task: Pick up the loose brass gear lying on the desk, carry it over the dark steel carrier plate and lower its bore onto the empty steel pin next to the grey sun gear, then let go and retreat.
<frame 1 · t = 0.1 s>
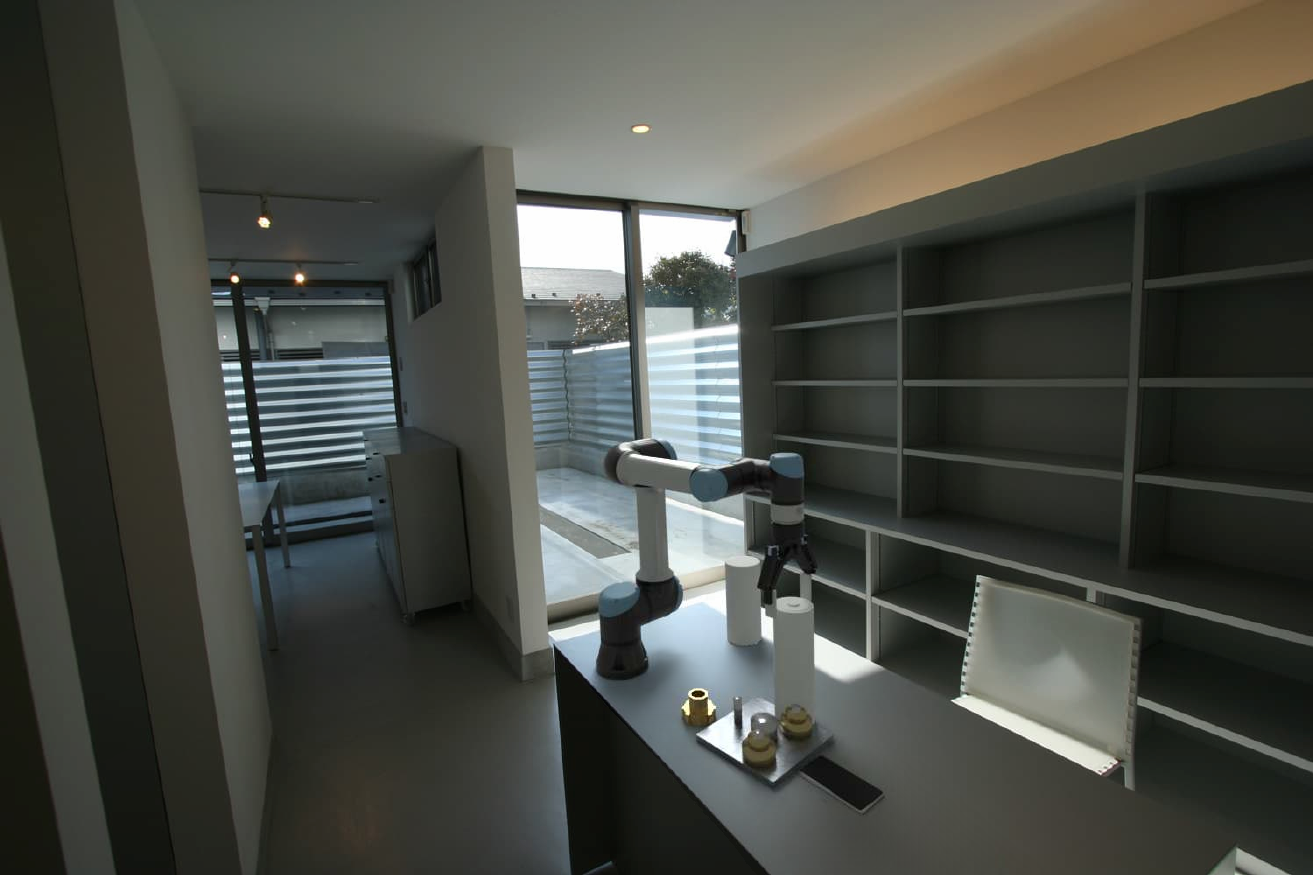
hand: (789, 607, 140), 28 cm above the table, fingers open, 13 cm apart
tall pillar cylinder: (744, 638, 186), on the table
smartphone: (839, 786, 121), on the table
cylinder container: (794, 722, 143), on the table, touching carrier
carrier: (764, 740, 136), on the table
gear: (699, 716, 146), on the table
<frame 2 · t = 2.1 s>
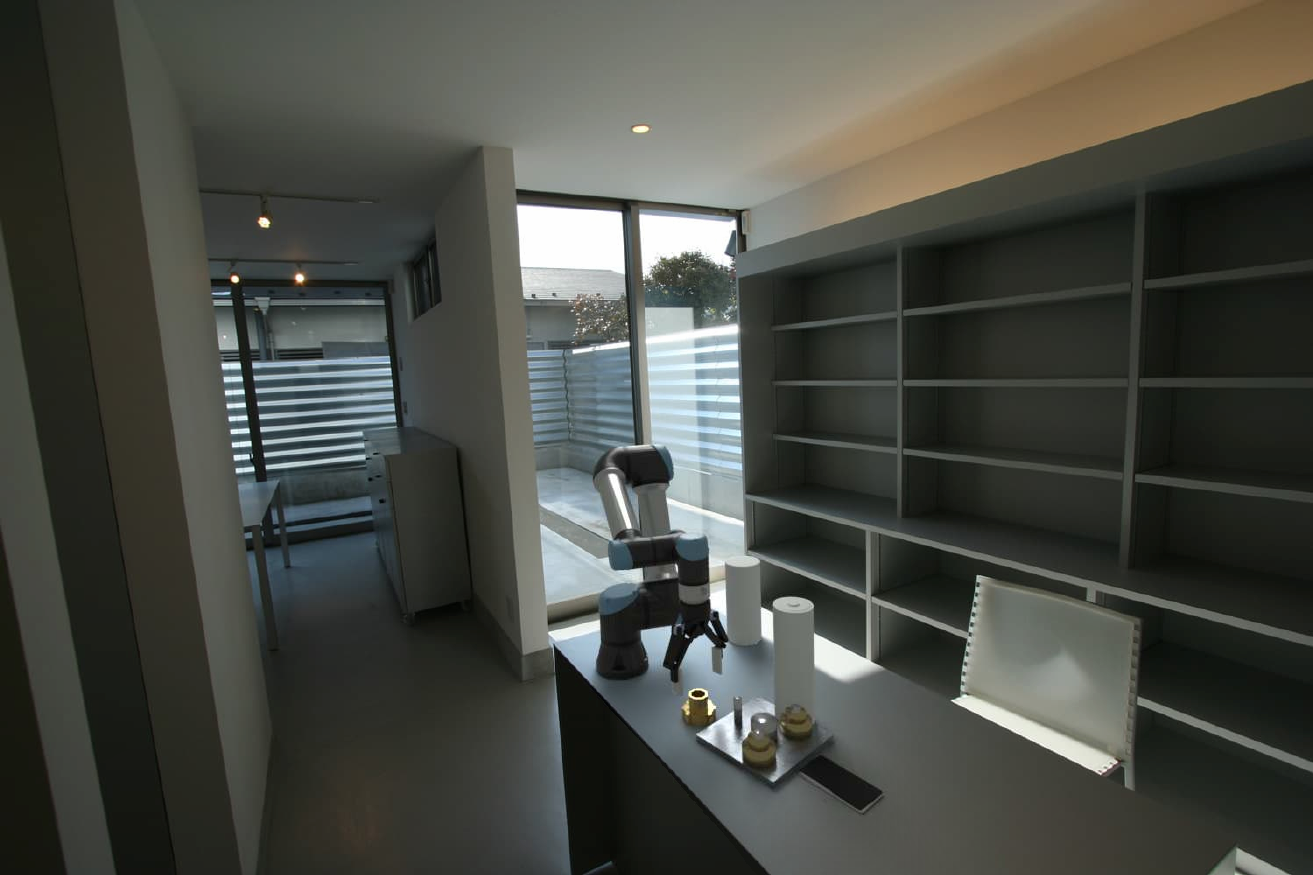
hand: (698, 682, 144), 9 cm above the table, fingers open, 13 cm apart
nothing on the table moved.
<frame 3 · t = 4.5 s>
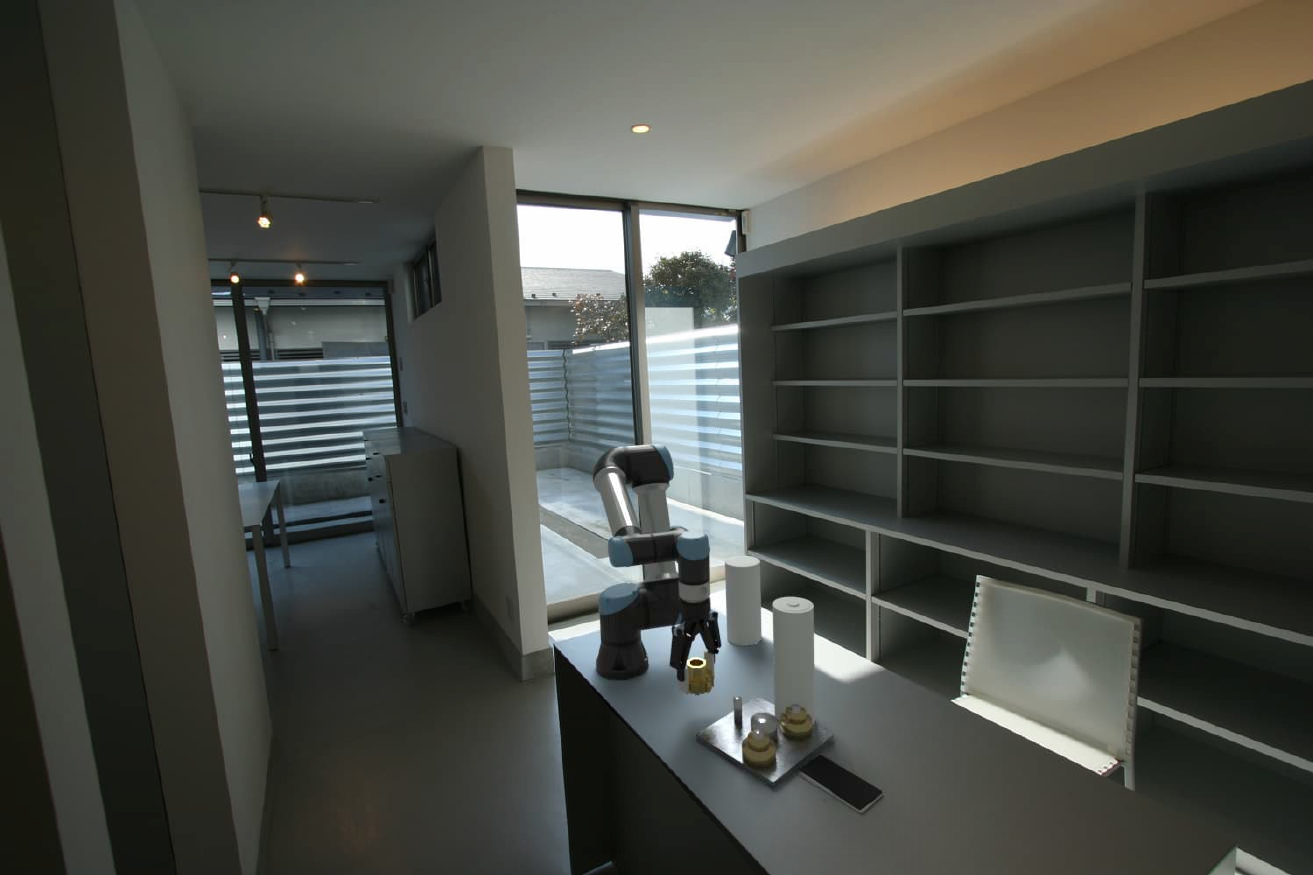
hand: (697, 684, 145), 8 cm above the table, fingers closed on gear, 8 cm apart
gear: (697, 685, 145), point 8 cm above the table, touching gripper
everything else where it was.
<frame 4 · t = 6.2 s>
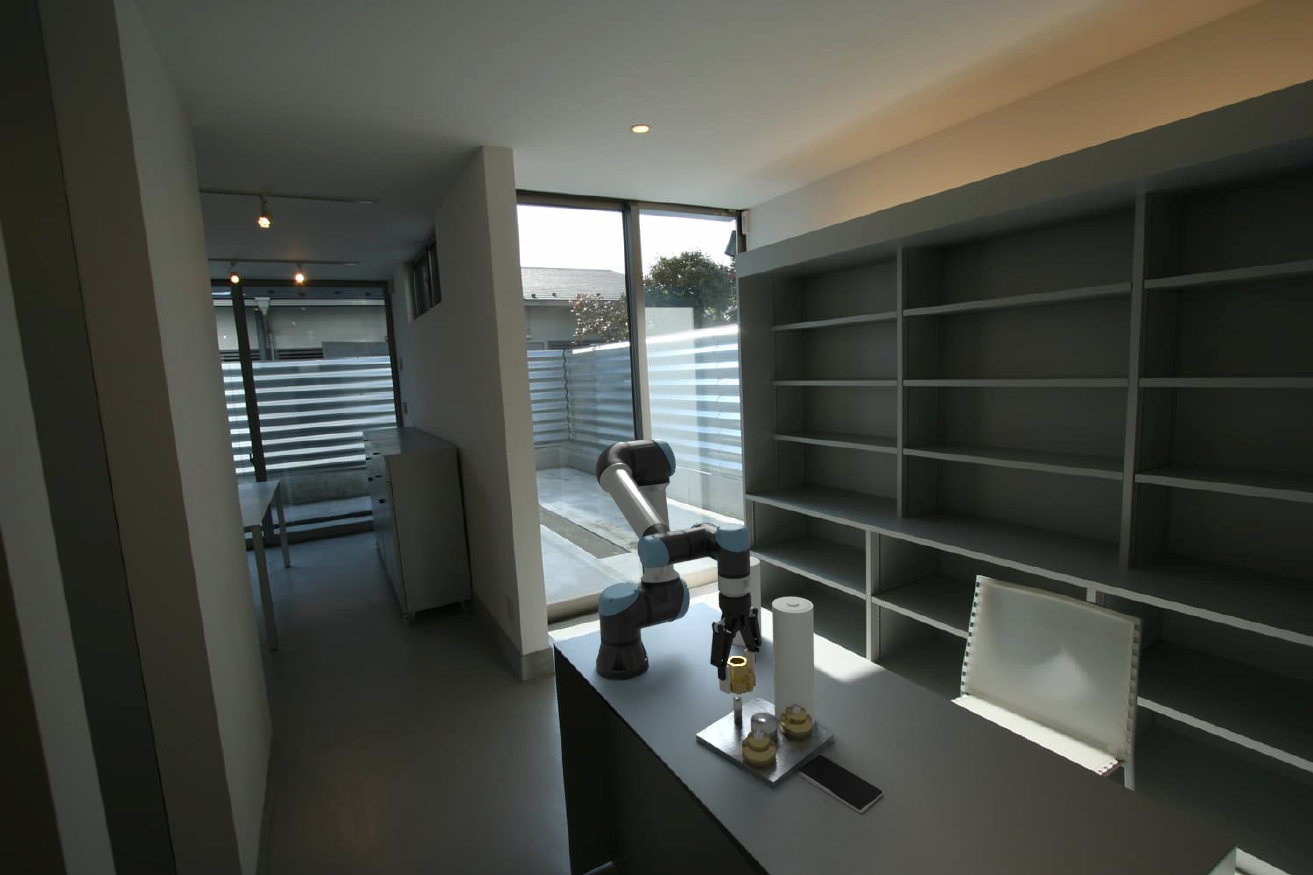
hand: (737, 683, 140), 11 cm above the table, fingers closed on gear, 8 cm apart
gear: (738, 685, 140), point 10 cm above the table, touching gripper
everything else where it was.
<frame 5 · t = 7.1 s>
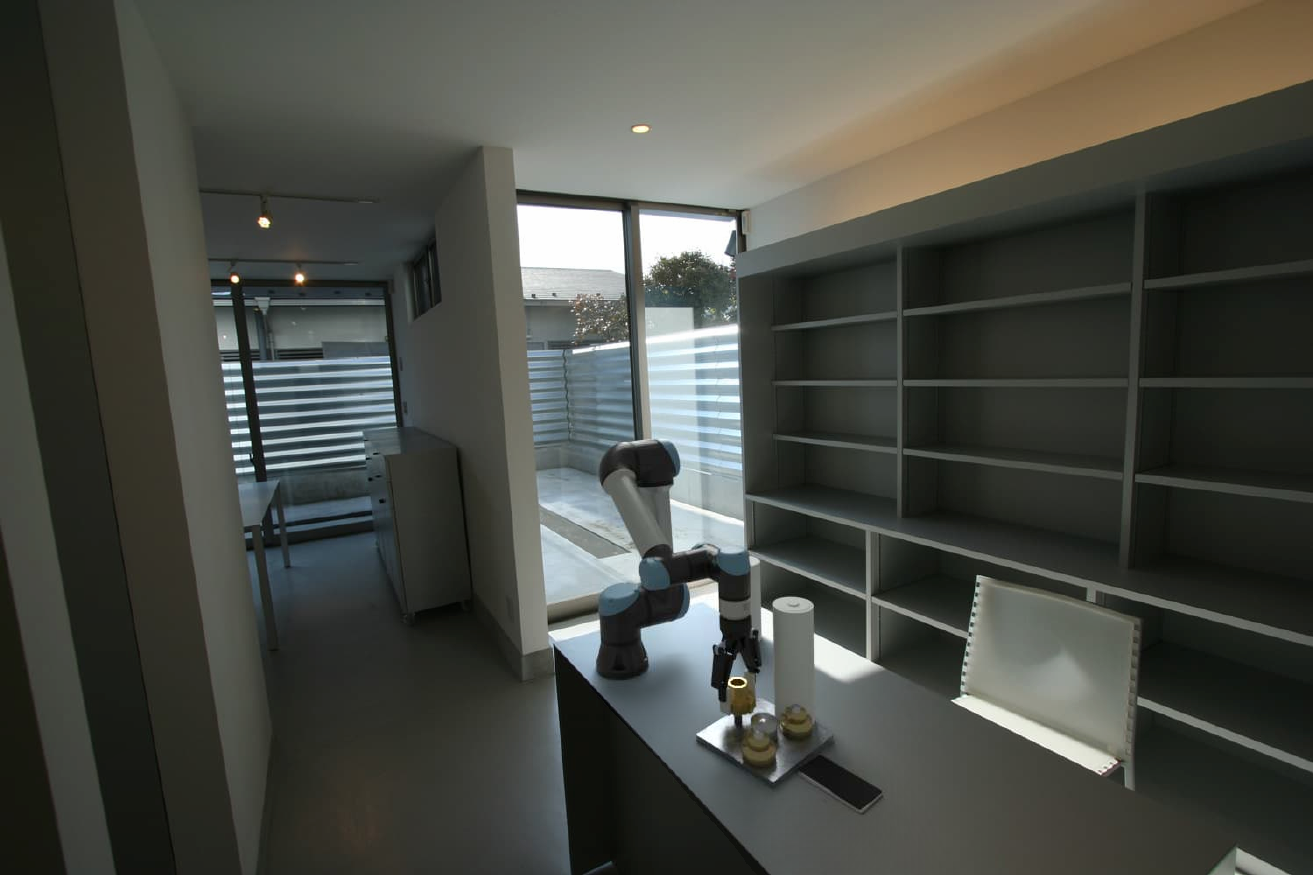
hand: (738, 705, 141), 5 cm above the table, fingers closed on gear, 8 cm apart
gear: (738, 706, 141), point 5 cm above the table, touching gripper
everything else where it was.
when the fingers open (3 cm above the table, at t = 7.9 s): gear drops 1 cm, resting on carrier.
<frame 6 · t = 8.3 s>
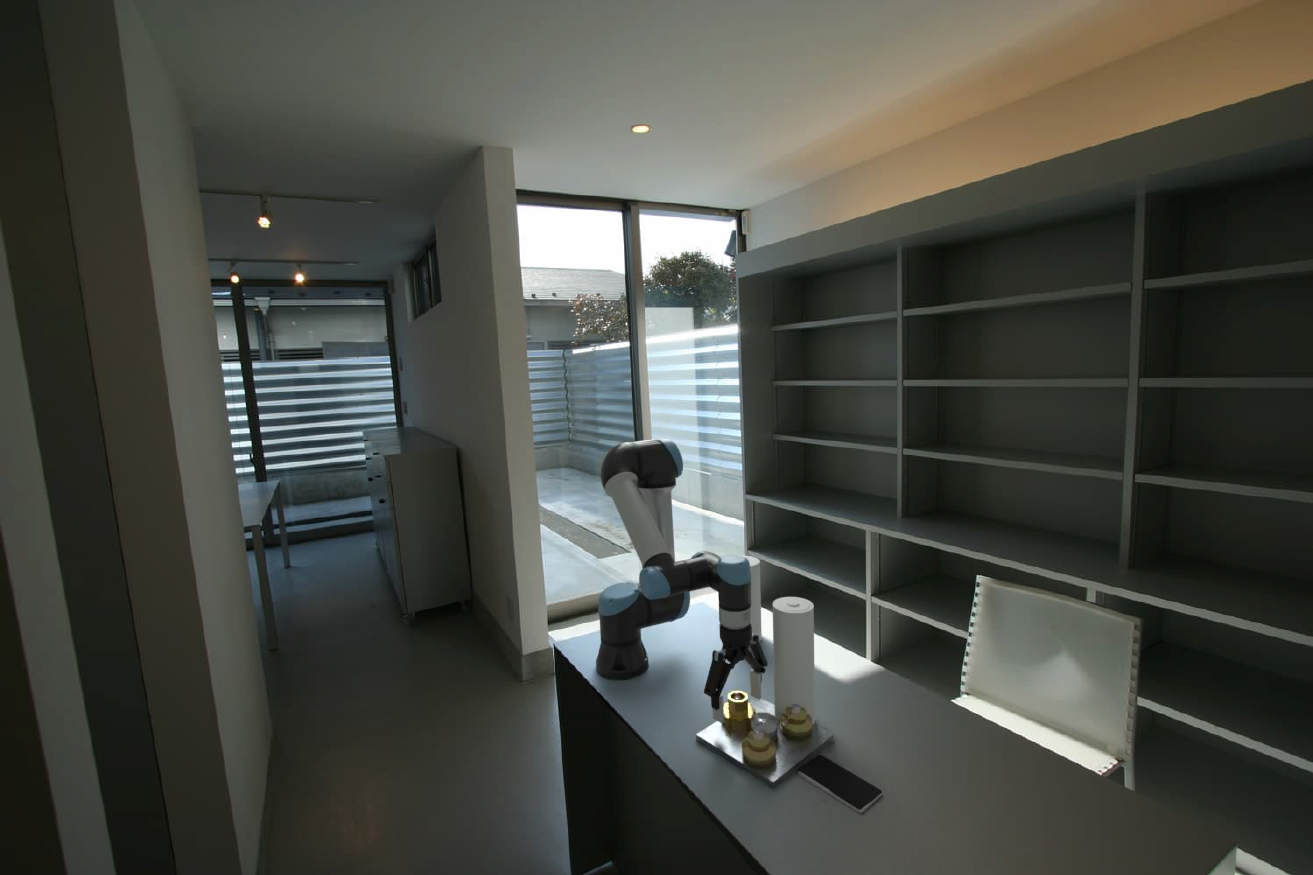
hand: (737, 708, 141), 4 cm above the table, fingers open, 13 cm apart
gear: (738, 719, 141), point 1 cm above the table, touching carrier
everything else where it was.
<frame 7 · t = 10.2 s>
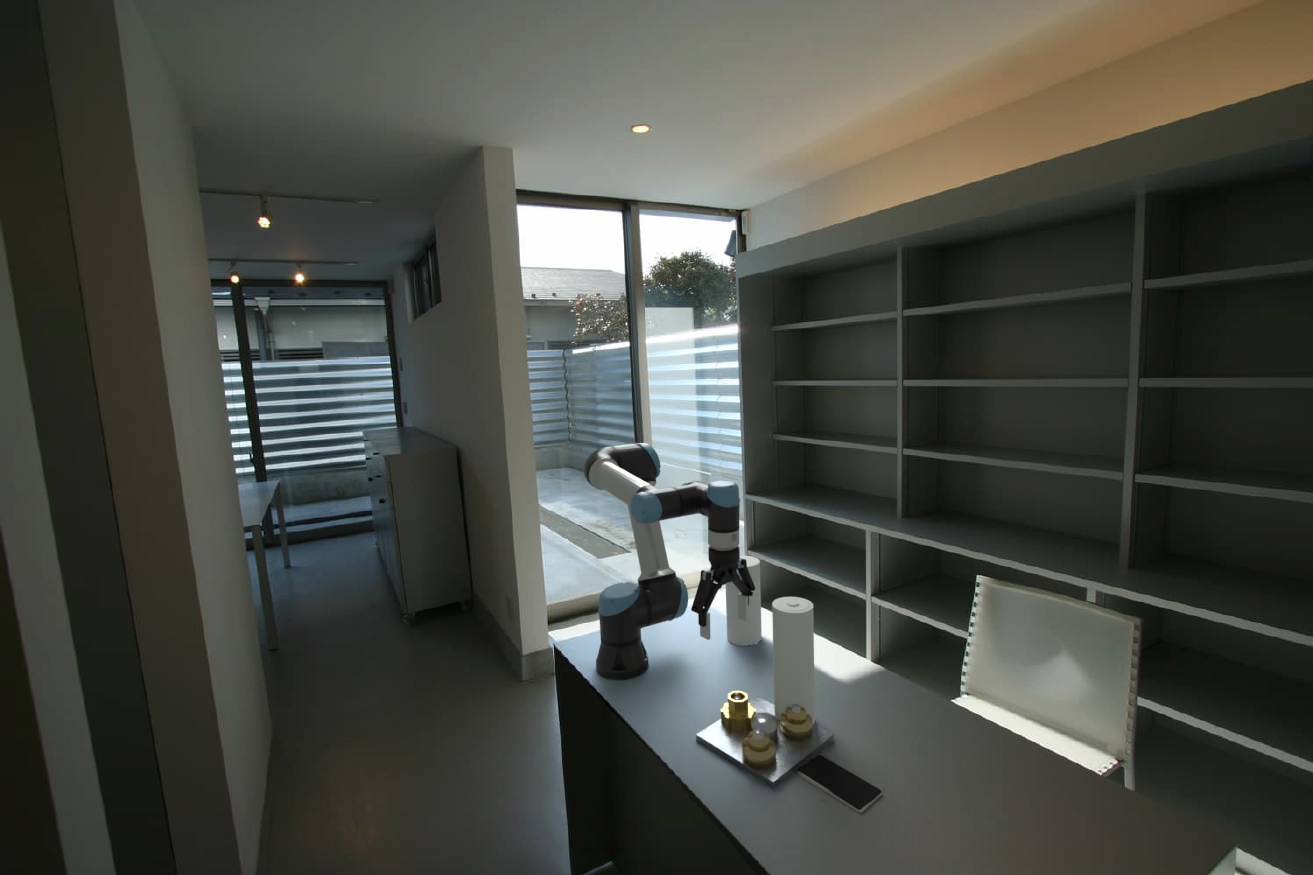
hand: (724, 628, 146), 21 cm above the table, fingers open, 13 cm apart
nothing on the table moved.
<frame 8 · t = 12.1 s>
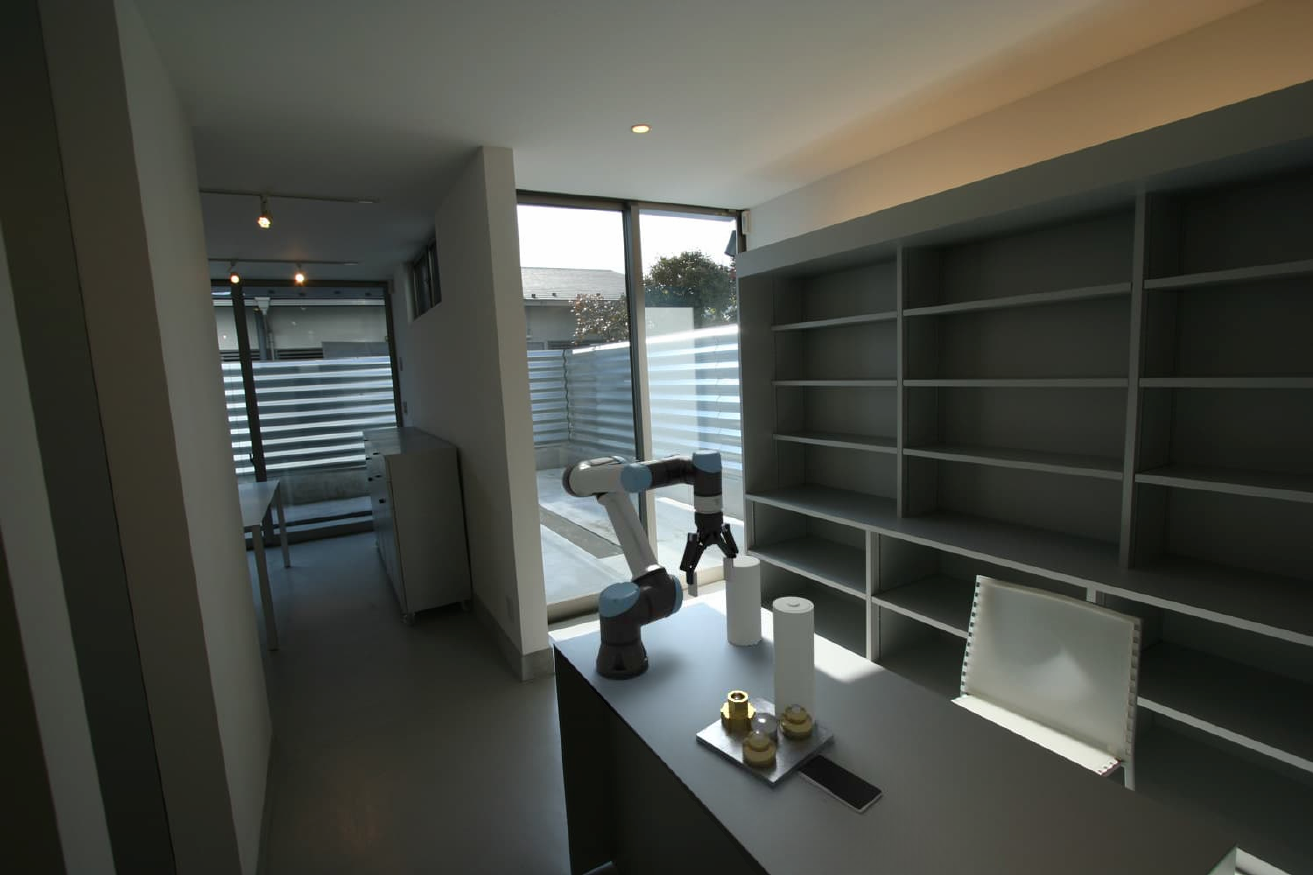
hand: (711, 588, 158), 27 cm above the table, fingers open, 13 cm apart
nothing on the table moved.
at the end: gear 0.1 cm from the target spot on the carrier, point 1.5 cm above the carrier's base; the gripper is holding nothing; gear tilted 0° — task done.
